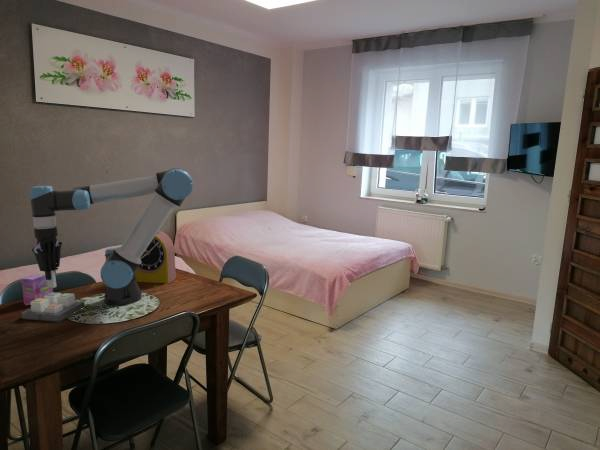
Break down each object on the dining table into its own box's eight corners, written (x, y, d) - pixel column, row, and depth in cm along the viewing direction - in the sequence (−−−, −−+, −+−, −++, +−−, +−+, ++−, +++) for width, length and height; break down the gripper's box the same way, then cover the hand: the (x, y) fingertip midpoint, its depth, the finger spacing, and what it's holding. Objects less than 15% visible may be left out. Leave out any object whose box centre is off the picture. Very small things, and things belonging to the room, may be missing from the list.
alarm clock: (128, 281, 214) (124, 229, 209) (138, 275, 222) (134, 225, 218) (168, 283, 210) (165, 230, 206) (176, 277, 219) (173, 227, 214)
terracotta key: (63, 313, 170) (62, 303, 169) (55, 318, 166) (54, 307, 165) (53, 313, 171) (52, 302, 170) (45, 317, 166) (44, 306, 166)
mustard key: (49, 308, 171) (48, 298, 170) (41, 312, 166) (40, 302, 166) (40, 307, 171) (38, 297, 171) (31, 311, 167) (30, 301, 166)
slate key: (62, 302, 177) (61, 292, 177) (54, 306, 173) (53, 296, 172) (52, 301, 178) (51, 291, 177) (44, 305, 174) (43, 295, 173)
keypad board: (84, 307, 178) (84, 301, 178) (58, 321, 163) (58, 315, 163) (50, 305, 181) (50, 299, 180) (22, 318, 166) (21, 312, 166)
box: (35, 306, 179) (32, 279, 177) (23, 305, 181) (20, 278, 178) (54, 298, 189) (51, 272, 187) (43, 297, 191) (40, 271, 189)
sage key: (75, 303, 176) (74, 293, 176) (67, 307, 172) (66, 296, 171) (65, 302, 177) (64, 292, 176) (58, 306, 173) (57, 296, 172)
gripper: (49, 223, 169) (55, 281, 173) (22, 230, 156) (30, 292, 160) (66, 224, 168) (72, 282, 172) (41, 230, 155) (48, 293, 159)
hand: (52, 286), depth 166 cm, fingers closed
